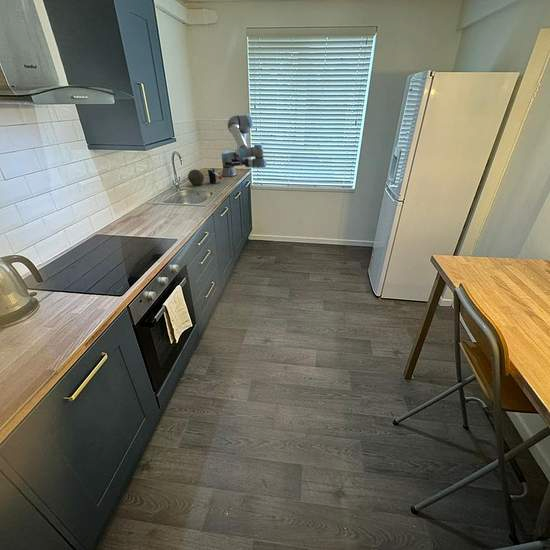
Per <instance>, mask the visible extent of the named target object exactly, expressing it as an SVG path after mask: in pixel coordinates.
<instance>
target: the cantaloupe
mask: <svg viewBox="0 0 550 550" xmlns="http://www.w3.org/2000/svg"><path fill="white" fill-rule="evenodd" d="M204 177H205V176H204V174H203V173H202V171H200V170H199V169H192V170H190V171H189V172H188V174H187V179H188V181H189V183H190V184H191V185H193V186H194V187H195V186H196V187H198V186H201V185H202V184H203V183H204V179H205V178H204Z"/></svg>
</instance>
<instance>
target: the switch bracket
mask: <svg viewBox="0 0 550 550" xmlns="http://www.w3.org/2000/svg"><path fill="white" fill-rule="evenodd" d="M211 169H212V170H211ZM207 172H208V181H207V182H205V184H206V185H209V184H210V185H217V184H219V183H220V182H221V180H217V176H216V175H215V174H213V172H214V173H216V170H215V168H210V169H207Z"/></svg>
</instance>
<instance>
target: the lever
mask: <svg viewBox="0 0 550 550" xmlns="http://www.w3.org/2000/svg"><path fill="white" fill-rule="evenodd" d="M210 169H211V170H212V169H213V168H210ZM213 174H215V176H216V177H218V179H219V180H222V179H223V176H222V174H218V173H217V172H215V173H214V172H213Z"/></svg>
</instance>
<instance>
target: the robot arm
mask: <svg viewBox="0 0 550 550" xmlns="http://www.w3.org/2000/svg"><path fill="white" fill-rule="evenodd" d="M253 128H254V122H253V117H252V116H251V115H250V114H235V115H232V116H231V117H230V118H229V119H228V120H227V129H228V132H229V133H231V135H232V137H233V140H234V142H235V144H236V145H237V146H236V148H235V151H233V150H226V151H223V152H222V153H221V163H222V171H221V176H222V177H226V178H227V177H228V178H229V177H230V178H231V177H235V176H237V171H236V168H235V167H238V166H239V167H242V166H244V167H245V168H252V169H253V168H260V169H261V168H262V169H263V168H264V169H265V168H266V167H267V163H268V161H267V159H266V158H264V146H263V144H262V143H255V144H254V145H253V146H251V147H248V145H247V141H248V134H249V133H250V131H251V129H253Z"/></svg>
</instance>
